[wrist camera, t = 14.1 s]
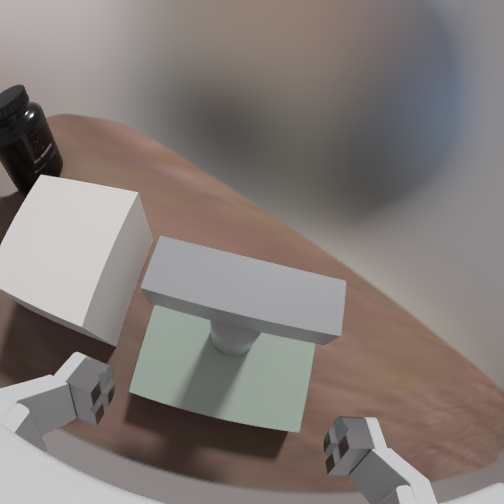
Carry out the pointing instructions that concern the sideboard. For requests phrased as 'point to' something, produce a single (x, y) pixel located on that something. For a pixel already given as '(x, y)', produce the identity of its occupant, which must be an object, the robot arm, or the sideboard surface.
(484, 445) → the sideboard surface
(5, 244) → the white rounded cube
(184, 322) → the t-shaped pedestal stand
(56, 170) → the supplement bottle
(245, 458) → the sideboard surface
